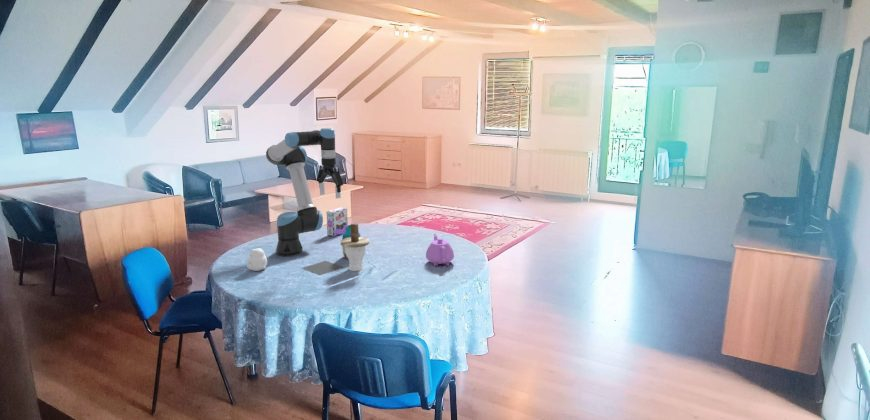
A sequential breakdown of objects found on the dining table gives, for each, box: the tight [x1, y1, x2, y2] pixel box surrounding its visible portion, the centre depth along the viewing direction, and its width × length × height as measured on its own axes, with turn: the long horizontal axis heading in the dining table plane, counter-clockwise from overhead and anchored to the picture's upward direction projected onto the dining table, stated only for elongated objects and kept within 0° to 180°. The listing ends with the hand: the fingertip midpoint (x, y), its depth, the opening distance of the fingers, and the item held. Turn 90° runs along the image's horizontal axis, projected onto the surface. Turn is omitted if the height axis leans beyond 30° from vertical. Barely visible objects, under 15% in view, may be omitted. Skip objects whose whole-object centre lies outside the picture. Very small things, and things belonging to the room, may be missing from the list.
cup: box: [345, 246, 366, 272], centre depth 282 cm, size 11×11×15 cm
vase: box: [341, 224, 362, 260], centre depth 300 cm, size 11×11×19 cm
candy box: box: [326, 207, 349, 237], centre depth 349 cm, size 14×6×16 cm, turn 147°
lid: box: [340, 222, 370, 247], centre depth 279 cm, size 15×15×10 cm
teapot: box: [425, 233, 455, 267], centre depth 295 cm, size 22×16×14 cm
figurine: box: [246, 246, 268, 272], centre depth 282 cm, size 10×10×12 cm
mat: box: [301, 260, 345, 276], centre depth 284 cm, size 16×16×1 cm
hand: (330, 196), depth 290 cm, fingers open, 13 cm apart
